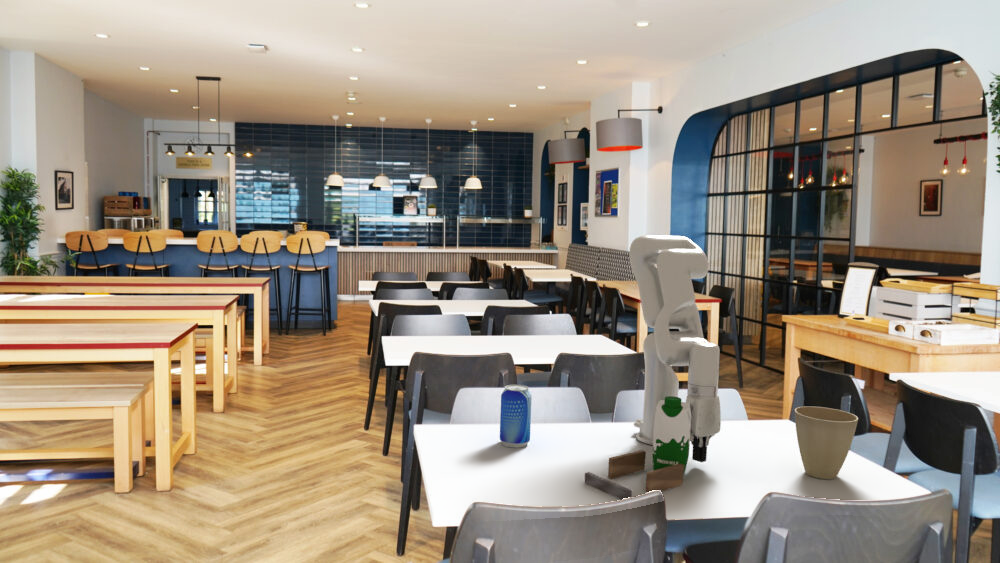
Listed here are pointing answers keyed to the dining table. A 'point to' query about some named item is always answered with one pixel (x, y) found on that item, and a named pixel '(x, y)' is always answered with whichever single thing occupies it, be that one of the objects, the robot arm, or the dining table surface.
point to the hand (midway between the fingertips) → (699, 460)
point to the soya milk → (671, 433)
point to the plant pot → (824, 439)
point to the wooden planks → (633, 464)
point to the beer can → (515, 416)
